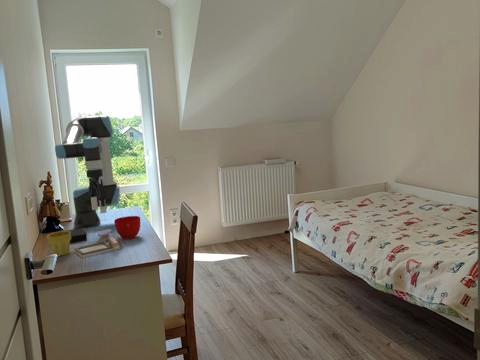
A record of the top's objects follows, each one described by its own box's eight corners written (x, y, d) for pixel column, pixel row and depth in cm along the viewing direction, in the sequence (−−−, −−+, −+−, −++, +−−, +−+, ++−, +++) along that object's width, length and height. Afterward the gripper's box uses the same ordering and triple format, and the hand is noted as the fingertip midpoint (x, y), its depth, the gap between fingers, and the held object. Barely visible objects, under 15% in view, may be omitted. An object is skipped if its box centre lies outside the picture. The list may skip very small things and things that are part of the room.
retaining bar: (107, 240, 215) (106, 236, 215) (114, 239, 217) (113, 235, 216) (112, 247, 202) (111, 243, 202) (119, 246, 204) (119, 242, 203)
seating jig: (74, 251, 211) (72, 240, 211) (113, 243, 222) (112, 232, 221) (81, 257, 201) (80, 245, 200) (122, 248, 211) (121, 236, 211)
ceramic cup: (116, 244, 219) (114, 224, 217) (116, 236, 235) (114, 218, 234) (143, 240, 222) (141, 221, 221) (141, 233, 238) (139, 214, 237)
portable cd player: (53, 239, 241) (52, 232, 240) (86, 234, 247) (85, 227, 246) (51, 247, 225) (50, 239, 225) (87, 241, 231) (86, 233, 231)
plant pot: (49, 259, 203) (46, 238, 201) (49, 253, 212) (46, 233, 211) (73, 254, 207) (71, 234, 205) (72, 249, 216) (69, 229, 215)
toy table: (103, 239, 230) (102, 229, 230) (119, 240, 228) (117, 229, 227) (92, 245, 221) (90, 234, 220) (108, 245, 218) (106, 234, 218)
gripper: (79, 168, 228) (84, 209, 230) (93, 171, 207) (99, 215, 210) (94, 167, 232) (99, 207, 234) (109, 169, 211) (114, 213, 214)
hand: (99, 211), depth 222 cm, fingers open, 13 cm apart
